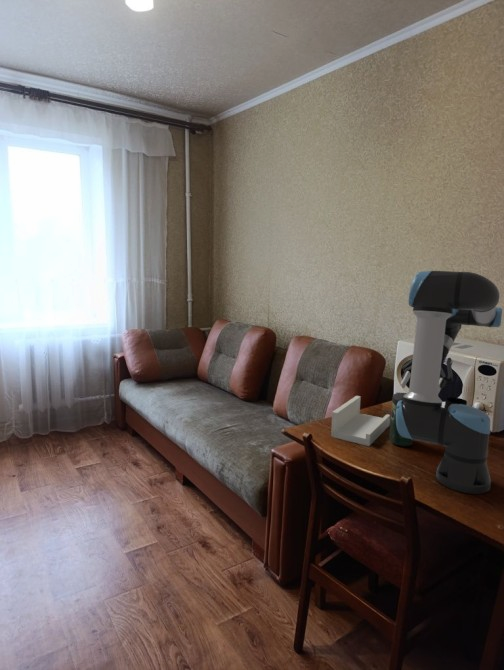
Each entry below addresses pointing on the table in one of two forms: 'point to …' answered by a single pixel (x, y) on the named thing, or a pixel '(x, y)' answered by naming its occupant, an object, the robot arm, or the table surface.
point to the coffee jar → (394, 434)
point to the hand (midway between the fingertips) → (418, 389)
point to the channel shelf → (357, 423)
